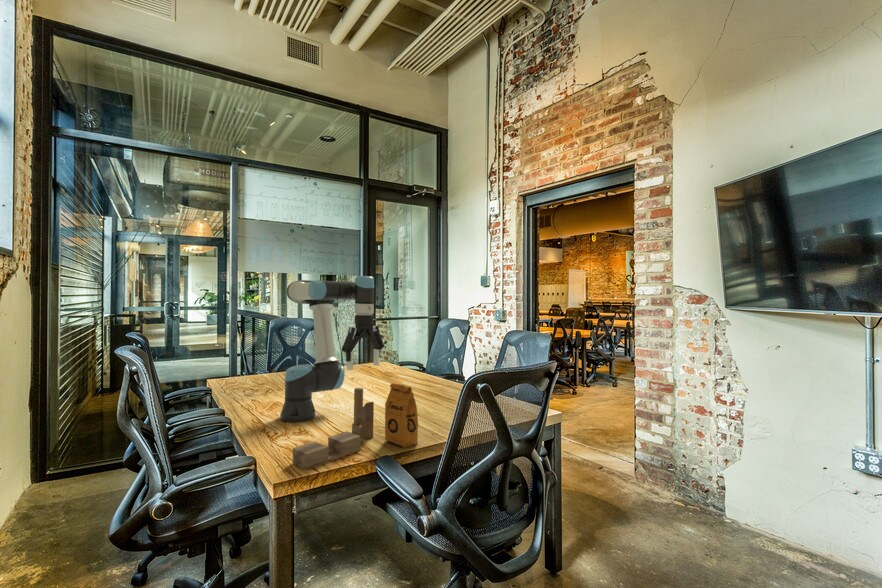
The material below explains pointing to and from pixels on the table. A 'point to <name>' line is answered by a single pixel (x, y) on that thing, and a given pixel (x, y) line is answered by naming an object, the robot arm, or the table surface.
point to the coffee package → (401, 416)
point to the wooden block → (362, 415)
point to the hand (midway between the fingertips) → (363, 367)
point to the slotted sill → (326, 450)
